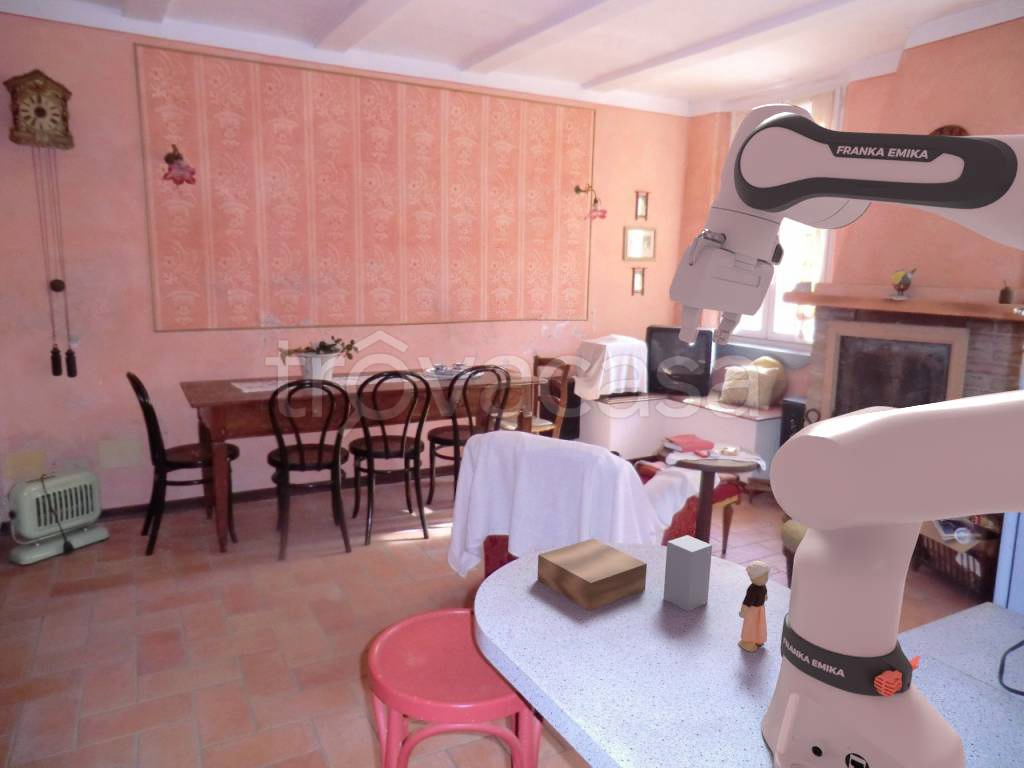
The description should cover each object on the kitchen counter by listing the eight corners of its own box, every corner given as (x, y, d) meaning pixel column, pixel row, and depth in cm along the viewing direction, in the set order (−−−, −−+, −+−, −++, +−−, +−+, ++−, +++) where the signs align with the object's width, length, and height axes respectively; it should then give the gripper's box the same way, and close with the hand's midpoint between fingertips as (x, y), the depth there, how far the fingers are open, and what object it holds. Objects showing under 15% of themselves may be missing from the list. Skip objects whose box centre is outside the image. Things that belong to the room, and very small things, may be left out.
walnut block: (645, 591, 117) (646, 563, 116) (589, 612, 109) (590, 583, 108) (591, 564, 127) (593, 538, 126) (537, 581, 119) (538, 554, 118)
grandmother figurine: (759, 658, 96) (767, 574, 94) (732, 650, 98) (739, 566, 96) (772, 635, 103) (780, 555, 101) (746, 627, 105) (753, 549, 103)
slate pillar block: (707, 602, 112) (712, 545, 111) (687, 611, 109) (692, 552, 108) (683, 591, 116) (687, 535, 115) (663, 598, 113) (667, 541, 112)
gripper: (724, 232, 78) (686, 348, 81) (789, 254, 93) (755, 351, 96) (676, 221, 82) (642, 332, 85) (746, 244, 97) (715, 337, 100)
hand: (703, 342), depth 91 cm, fingers open, 8 cm apart
